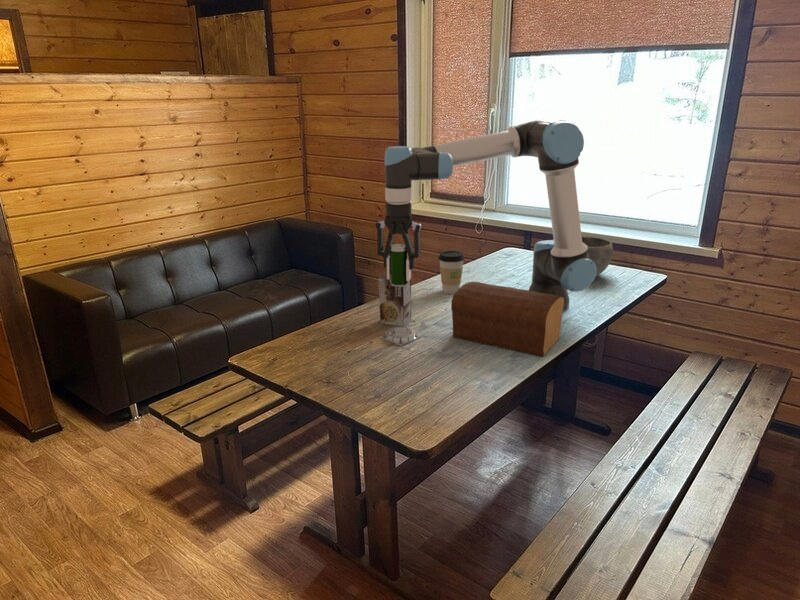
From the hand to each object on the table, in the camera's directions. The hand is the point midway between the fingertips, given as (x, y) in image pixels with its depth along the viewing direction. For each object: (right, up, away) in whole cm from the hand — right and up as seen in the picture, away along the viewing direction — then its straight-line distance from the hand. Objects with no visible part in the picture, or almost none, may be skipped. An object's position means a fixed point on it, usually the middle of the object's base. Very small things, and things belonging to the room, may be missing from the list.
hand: (399, 278), depth 175 cm
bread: (+33, -19, +6) cm, 38 cm away
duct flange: (+1, -18, +7) cm, 19 cm away
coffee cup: (+20, -3, +47) cm, 51 cm away
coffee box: (-1, -14, +19) cm, 24 cm away
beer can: (0, -2, +1) cm, 2 cm away
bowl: (+75, +3, +63) cm, 98 cm away
